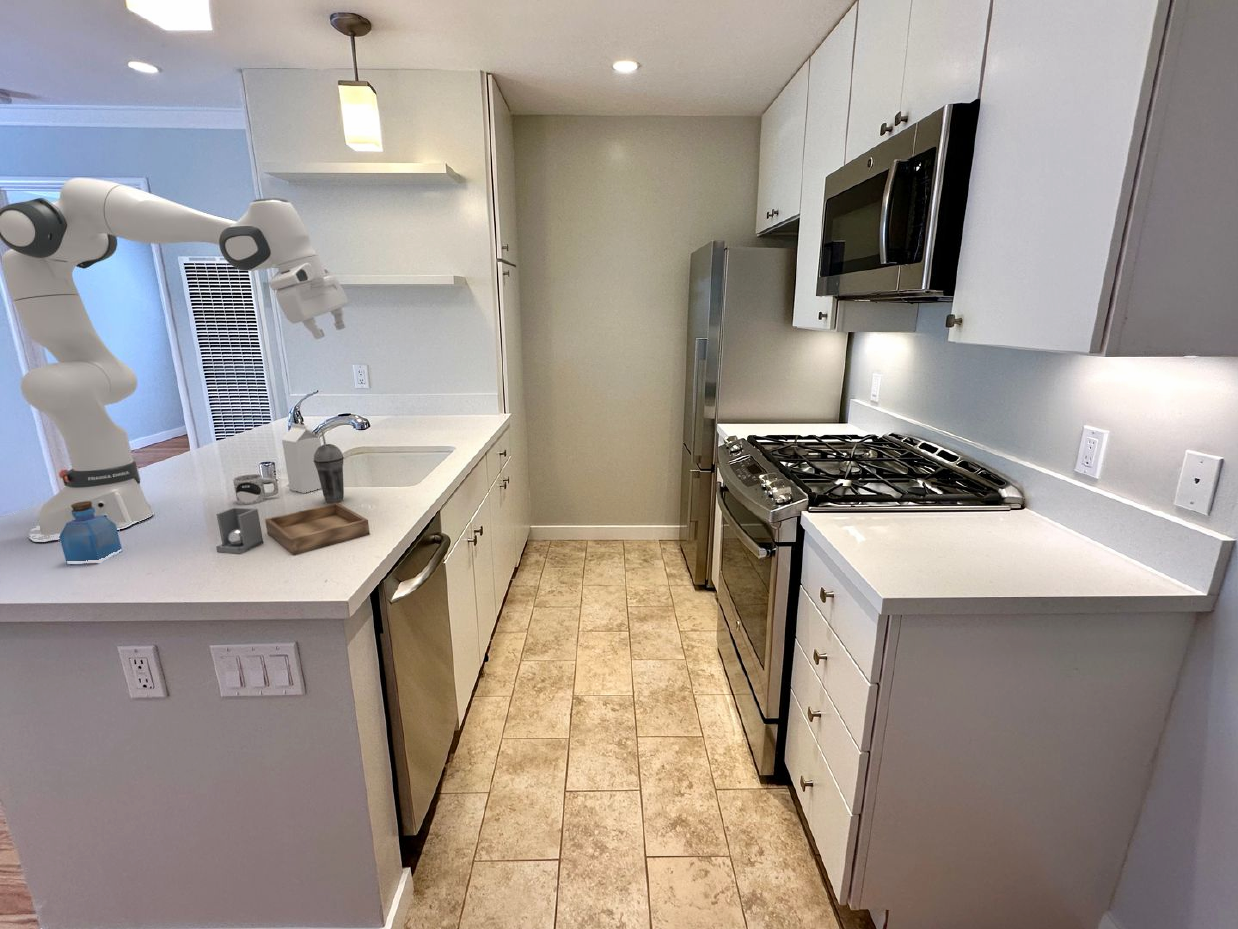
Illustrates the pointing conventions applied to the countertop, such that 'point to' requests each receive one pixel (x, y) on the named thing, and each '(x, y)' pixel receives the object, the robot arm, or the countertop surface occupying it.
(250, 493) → the mug
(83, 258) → the robot arm
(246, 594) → the countertop surface
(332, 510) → the walnut tray
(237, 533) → the steel ball
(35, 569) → the countertop surface
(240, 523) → the grey ball display stand
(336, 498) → the beverage cup
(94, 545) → the perfume bottle
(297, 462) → the milk carton
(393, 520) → the countertop surface
